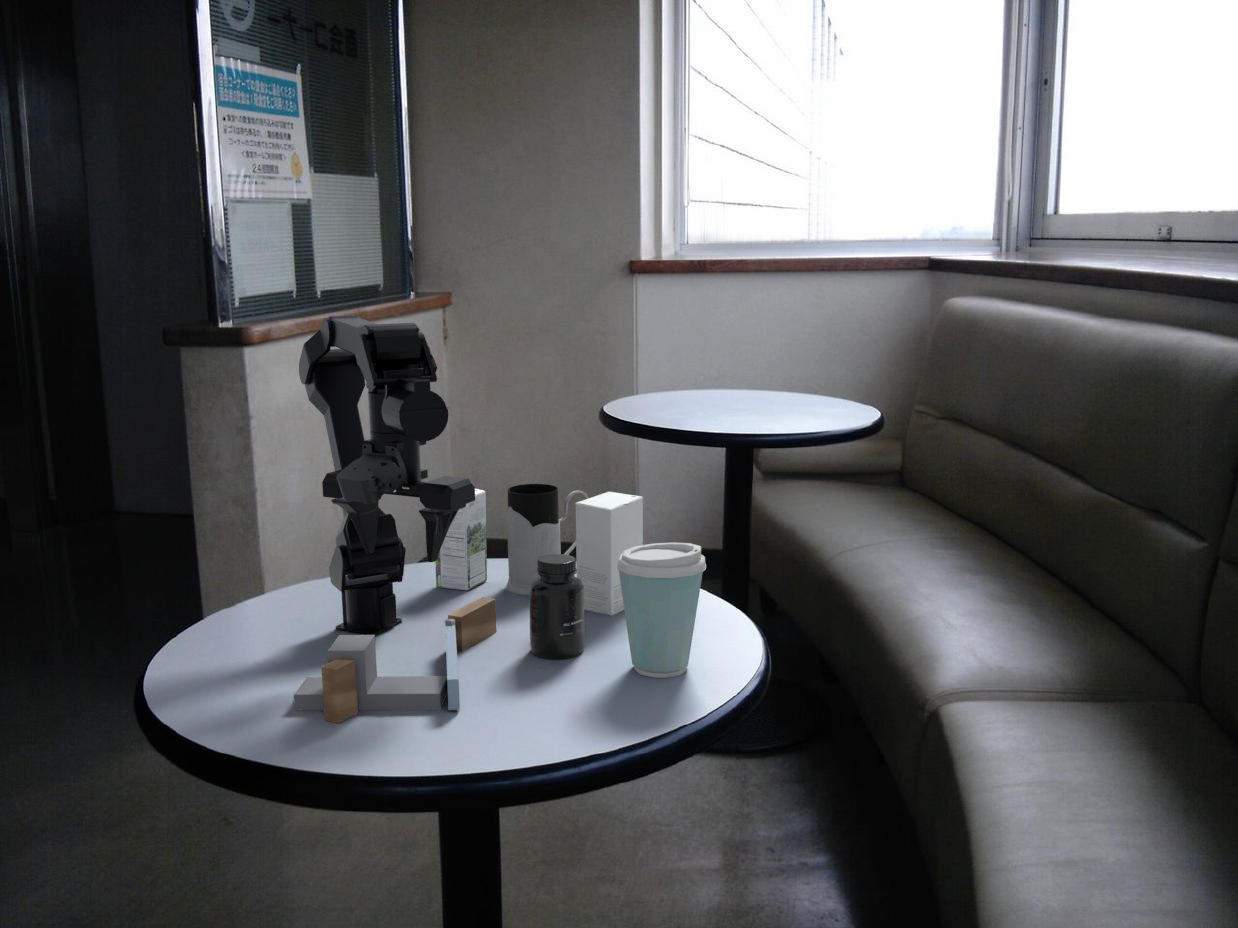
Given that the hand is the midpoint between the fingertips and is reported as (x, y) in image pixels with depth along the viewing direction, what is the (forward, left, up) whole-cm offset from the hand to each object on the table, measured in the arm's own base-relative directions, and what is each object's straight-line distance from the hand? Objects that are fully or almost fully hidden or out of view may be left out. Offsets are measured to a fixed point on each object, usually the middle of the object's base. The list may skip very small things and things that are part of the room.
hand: (400, 557), depth 130 cm
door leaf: (+4, +4, -13) cm, 14 cm away
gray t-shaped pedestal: (+3, -13, -13) cm, 19 cm away
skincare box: (+14, +29, -13) cm, 35 cm away
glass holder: (+1, +35, -13) cm, 38 cm away
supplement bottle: (+16, +10, -13) cm, 23 cm away
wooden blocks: (+4, +4, -13) cm, 14 cm away
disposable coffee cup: (+30, +10, -13) cm, 34 cm away
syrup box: (-11, +29, -13) cm, 34 cm away
